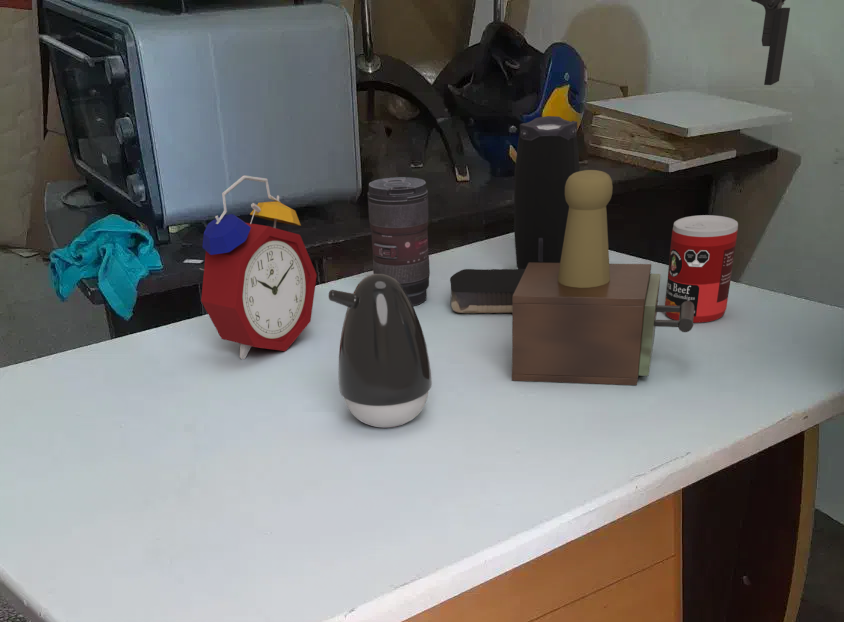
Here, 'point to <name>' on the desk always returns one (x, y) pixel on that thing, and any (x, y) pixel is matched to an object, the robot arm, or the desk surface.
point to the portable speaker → (543, 188)
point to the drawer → (659, 321)
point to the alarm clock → (257, 277)
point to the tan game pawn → (586, 230)
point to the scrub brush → (484, 290)
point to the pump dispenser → (382, 353)
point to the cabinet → (578, 326)
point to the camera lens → (401, 233)
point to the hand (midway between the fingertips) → (835, 85)
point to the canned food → (701, 265)
